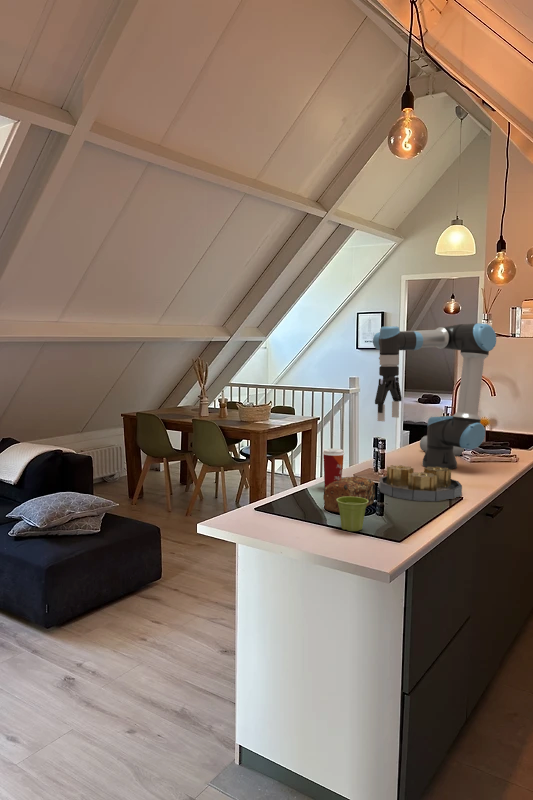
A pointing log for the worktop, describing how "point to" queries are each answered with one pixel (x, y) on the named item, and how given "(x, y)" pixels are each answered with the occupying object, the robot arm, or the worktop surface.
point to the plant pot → (352, 512)
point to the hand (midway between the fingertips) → (388, 419)
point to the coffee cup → (332, 465)
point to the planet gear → (398, 474)
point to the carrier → (420, 491)
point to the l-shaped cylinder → (423, 446)
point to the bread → (348, 491)
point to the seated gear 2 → (440, 475)
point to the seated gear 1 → (422, 481)
